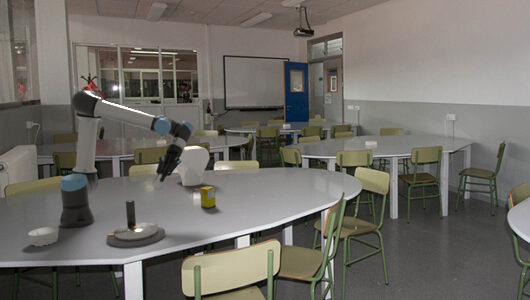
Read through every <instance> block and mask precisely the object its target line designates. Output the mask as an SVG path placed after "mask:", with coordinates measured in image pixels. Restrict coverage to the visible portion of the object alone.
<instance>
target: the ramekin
mask: <svg viewBox="0 0 530 300" xmlns="http://www.w3.org/2000/svg"><path fill="white" fill-rule="evenodd" d="M59 233H60V228H59V227H57V226H46V227H45V226H44V227H39V228H36V229H33V230H31V231H29V232H28V234H27V236H28V237H29V240H30V243H31V246H33V245H35V246H34V247H38V246H39V247H44V246H43V245H47V246H49V245H48V244H50V245H53V244H55V243H56V242H57V241H58V239H59V238H58V237H59ZM54 242H55V243H54ZM52 243H53V244H52Z"/></svg>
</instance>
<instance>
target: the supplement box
mask: <svg viewBox="0 0 530 300" xmlns="http://www.w3.org/2000/svg"><path fill="white" fill-rule="evenodd" d="M199 189H200V190H199V193H200V208H203V209H207V210H208V209H211V208H215V207H216V205H217V204H216V187H214V186H209V185H206V186H203V187H200V188H199Z"/></svg>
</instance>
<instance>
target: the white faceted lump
mask: <svg viewBox="0 0 530 300" xmlns="http://www.w3.org/2000/svg"><path fill="white" fill-rule="evenodd" d="M179 159H180V160H181V163H179V164H178V166H177V167H176V168H175V169H176V171H177V173H178V174H179V176H180V177H181V179H180V180H181V183H182V186H183V187H190V186H199V185H202V183H203V176H204V174H205V169H206V167H207V166H208V163H209V161H210V159H211V158H210V154H209V151H208V149H207V148H205V147H201V146H199V145H190V146H185V148H184V150H183V152H182V154H181V156H180V157H179Z"/></svg>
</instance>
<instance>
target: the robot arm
mask: <svg viewBox="0 0 530 300" xmlns="http://www.w3.org/2000/svg"><path fill="white" fill-rule="evenodd" d="M71 107H72V108H73V110H74V111H75V112H76V114H75V115H76V116H75V117H76V118H77V119H78V135H77V145H76V146H77V150H76V159H75V160H76V162H75V167H73V168H72V171H71V174H68V175H64V176H63V177H62V178H61V179H60V185H59V186H60V192H61V193H60V195H61V205H62V210H61V216H60V219H59V226H60V227H61V226H62V228H65V227H69V228H68V229H71V228H73V229H74V228H81V227H85V226H88V225H91V224H92V223H94V222H95V215H94V213H93V212H92V209H91V207H90V200H89V199H90V197H89V196H90V195H91V194H92V193H93V192H95V190H96V189H97V188H98V186H99V178H98V174H97V173H98V169H97V168H96V167H95V164H96V163H95V161H96V159H95V158H96V150H97V149H96V147H97V135H98V123H99V121H100V120H101V119H102V118H105V119H108V120H111V121H114V122H115V121H116V122H118V123H123V124H126V125H130V126H133V127H138V128H139V129H140V128H141V129H144V130H147V131H151V132H154V133H157V134H158V135H161V136H163V135H164V136H165V135H167V134H168V135H169V136H172V137H173V138H172V140H171V141H170V144H169V145H168V147H167V148H166V153H165V154H164V156H163V157H161V156H160V157H159V158H158V159H159V160H158V161H159V162H158V164H157V168H156V170H155V173H156V174H157V176H156V179H155V181H154V183H153V187H154V188H156V189H160V187H161V186H162V184H163V183H164V182H165V179H166V178H167V177H170V176H171V175H172V174H173V173H174V171H175V169H176V167H177V166H178V164H179V163H181V160H180V159H179V157H180V156H181V154H182V152H183V150H184V148H185V147H187V144H188V142H189V140H190V138H191V136H192V134H193V132H194V129H195V128H194V126H193V124H192V123H191V122H189V121H185V120H183V121H181V122H177V121H176V120H173V119H172V118H169V117H167V116H166V115H163V114H158V115H157V116H156V115H152V114H149V113H146V112H143V111H139V110H137V109H136V110H135V109H133V108H130V107H129V108H128V107H126V106H123V105H119V104H115V103H112V102H109V101H106V100H105V99H104V97H103V95H102V94H100V93H99V92H97V91H94V90H85V89H84V90H83V89H82V90H79V91H76V92H75V93H74V94H73V95H72V97H71Z"/></svg>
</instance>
